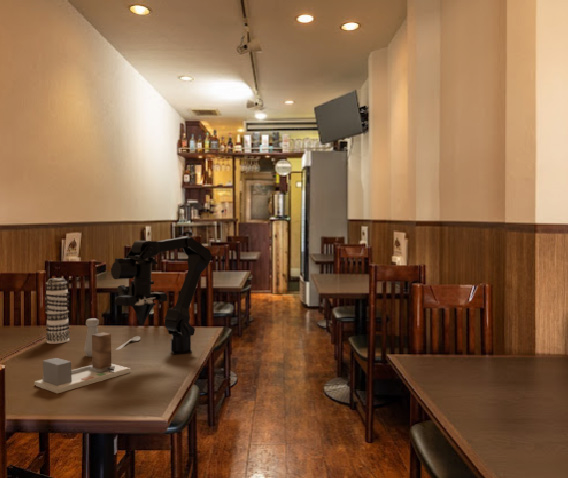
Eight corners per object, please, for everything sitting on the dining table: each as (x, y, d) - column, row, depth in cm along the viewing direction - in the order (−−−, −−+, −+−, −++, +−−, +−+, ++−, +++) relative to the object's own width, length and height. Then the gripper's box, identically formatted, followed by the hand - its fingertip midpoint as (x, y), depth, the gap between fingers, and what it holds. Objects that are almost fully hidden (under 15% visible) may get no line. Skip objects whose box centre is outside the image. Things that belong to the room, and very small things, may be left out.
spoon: (143, 340, 204) (143, 335, 204) (118, 352, 184) (118, 348, 183) (133, 339, 205) (133, 335, 204) (107, 352, 184) (107, 348, 184)
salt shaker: (95, 358, 175) (94, 320, 175) (80, 357, 176) (79, 320, 176) (104, 353, 181) (104, 317, 180) (90, 353, 182) (89, 317, 182)
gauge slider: (103, 365, 160) (102, 331, 160) (120, 370, 155) (119, 335, 155) (89, 369, 156) (88, 334, 156) (106, 374, 151) (105, 338, 151)
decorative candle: (73, 341, 200) (71, 278, 199) (47, 345, 195) (46, 280, 194) (68, 337, 208) (66, 276, 207) (43, 340, 202) (42, 278, 202)
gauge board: (107, 366, 165) (107, 344, 165) (130, 372, 158) (130, 349, 157) (34, 385, 146) (34, 360, 145) (57, 393, 138) (56, 367, 138)
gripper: (145, 275, 182) (145, 318, 182) (103, 278, 165) (102, 325, 165) (169, 277, 176) (168, 321, 176) (127, 280, 160) (126, 329, 160)
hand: (141, 324), depth 169 cm, fingers closed
